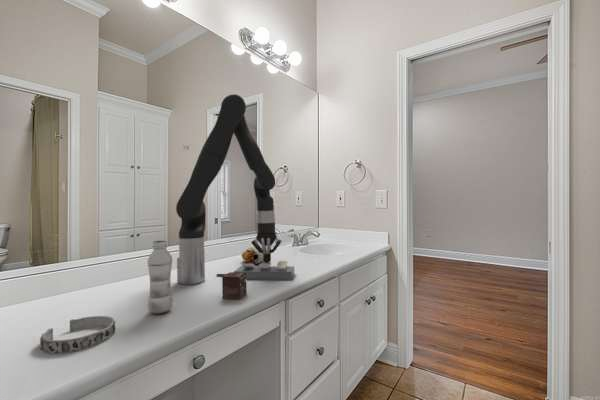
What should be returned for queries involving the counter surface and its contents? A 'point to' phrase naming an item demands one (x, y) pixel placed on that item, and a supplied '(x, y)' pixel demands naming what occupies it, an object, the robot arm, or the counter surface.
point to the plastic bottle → (160, 278)
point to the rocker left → (248, 265)
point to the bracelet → (82, 342)
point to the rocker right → (281, 265)
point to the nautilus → (252, 256)
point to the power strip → (266, 273)
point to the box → (234, 285)
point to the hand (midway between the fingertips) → (267, 262)
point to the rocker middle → (265, 265)
